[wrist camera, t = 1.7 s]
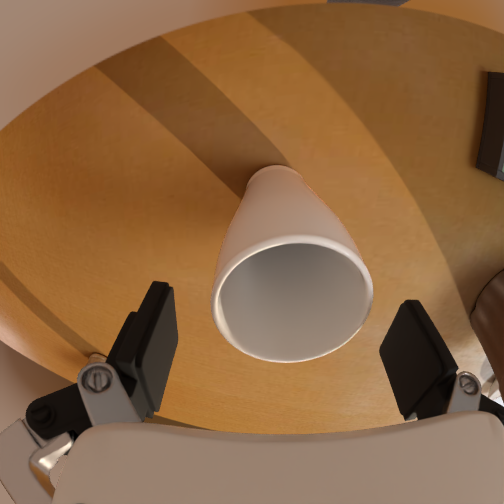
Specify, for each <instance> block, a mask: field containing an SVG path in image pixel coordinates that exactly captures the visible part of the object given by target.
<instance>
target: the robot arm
mask: <svg viewBox="0 0 504 504" xmlns="http://www.w3.org/2000/svg"><path fill="white" fill-rule="evenodd" d="M177 344H178V330H177V321H176V312H175V301H174V290H173V287H169V284H168V283H167V282H159V281H153V282H152V284H151V286H150V288H149V290H148V292H147V294H146V296H145V298H144V300H143V302H142V304H141V306H140V308H139V309H138V311H137V312H133V311H132V312H130V314H129V315H128V317H127V319H126V321H125V323H124V325H123V327H122V329H121V331H120V333H119V335H118V337H117V339H116V341H115V343H114V345H113V347H112V349H111V351H110V353H109V355H108V357H107V359H106V361H105V363H104V362H93V363H90V364H88V365H86V366H85V367H83V368H82V369H81V371H80V372H79V374H78V377H77V383H75V384H73V385H71V386H68V387H66V388H63V389H61V390H59V391H56V392H54V393H51V394H48V395H46V396H44V397H41V398H38V399H36V400H34V401H33V402H32V403H31V404H30V405H29V406H28V408H27V410H26V418H24V419H23V420H21V419H20V418H19V419H18V420H17V421H15V422H14V423H13V424H11V425H10V426H9V427H8V428H6V429H5V430H4V431H3V432H1V433H0V481H1V483H2V485H3V486H4V488H5V489H6V491H7V492H8V494H9V495H10V497H11V498H12V500H13V501H14V502H15V504H504V407H503V406H501V405H500V404H498V403H496V402H495V401H493V400H491V399H489V398H488V397H486V396H484V395H483V394H481V384H480V382H479V380H478V378H477V377H476V376H475V375H473V374H472V373H470V372H465V371H463V372H460V373H459V374H458V375H457V374H456V371H457V370H458V366H457V364H456V362H455V360H454V358H453V357H452V355H451V353H450V351H449V349H448V348H447V346H446V344H445V342H444V341H443V339H442V337H441V335H440V334H439V332H438V330H437V329H436V327H435V325H434V324H433V322H432V320H431V319H430V317H429V315H428V314H427V312H426V311H425V309H424V308H423V306H422V304H421V303H420V302H419V300H406V301H404V303H402V304H401V305H400V307H399V310H398V312H397V314H396V316H395V318H394V320H393V322H392V324H391V326H390V328H389V330H388V332H387V334H386V336H385V338H384V340H383V342H382V344H381V346H380V350H379V353H380V356H381V359H382V362H383V364H384V367H385V370H386V373H387V375H388V378H389V381H390V384H391V387H392V390H393V393H394V396H395V399H396V402H397V405H398V408H399V411H400V413H401V415H403V416H404V419H405V421H408V420H412V419H415V418H416V417H417V418H418V420H417V421H413V422H408V423H403V424H397V425H391V426H385V427H379V428H372V429H364V430H356V431H346V432H335V433H320V434H248V433H233V432H221V431H210V430H201V429H192V428H185V427H178V426H170V425H162V424H155V423H143V422H144V420H145V417H148V418H153V414H154V411H155V412H158V411H159V409H160V405H161V402H162V398H163V394H164V390H165V387H166V383H167V379H168V376H169V372H170V368H171V365H172V361H173V358H174V354H175V351H176V347H177ZM62 455H67V458H66V460H65V462H64V465H63V467H62V470H61V473H60V476H59V479H58V482H57V486H56V489H55V488H54V487H53V485H52V484H51V482H50V477H49V474H50V470H51V468H52V467H53V466H54V465H55V464H57V463H58V461H57V459H58V458H60V457H61V456H62Z"/></svg>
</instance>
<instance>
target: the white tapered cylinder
mask: <svg viewBox="0 0 504 504" xmlns="http://www.w3.org/2000/svg"><path fill="white" fill-rule="evenodd" d="M372 302H373V284H372V280H371V276H370V274H369V271H368V269H367V267H366V265H365V263H364V260H363V258H362V256H361V254H360V252H359V250H358V248H357V246H356V244H355V242H354V241H353V239H352V237H351V235H350V234H349V232H348V231H347V229H346V227H345V226H344V225H343V223H342V222H341V221H340V219H339V218H338V217H337V215H336V214H335V213H334V212H333V211H332V210H331V209H330V207H329V206H328V205H327V204H326V203H325V202H324V201H323V200H322V199H321V198H320V197H319V196H318V195H317V194H316V193H315V192H314V191H313V190H312V189H311V188H310V187H309V185H308V184H307V183H306V182H305V180H304V179H303V177H302V176H301V175H300V174H299V173H298V172H296V171H295V170H293V169H292V168H289V167H287V166H282V165H271V166H267V167H264V168H262V169H260V170H259V171H257V172H256V173H255V174H254V175H253V176H252V177H251V178H250V180H249V182H248V184H247V186H246V189H245V193H244V196H243V198H242V200H241V202H240V204H239V206H238V208H237V210H236V212H235V214H234V216H233V218H232V220H231V223H230V225H229V227H228V229H227V231H226V234H225V236H224V239H223V242H222V245H221V248H220V252H219V256H218V260H217V264H216V269H215V274H214V280H213V287H212V293H211V312H212V317H213V320H214V322H215V324H216V327H217V328H218V330H219V332H220V333H221V334H222V336H223V337H224V338H225V339H226V340H227V341H228V342H229V343H230V344H231V345H233V346H234V347H235V348H237V349H238V350H240V351H242V352H243V353H245V354H248V355H250V356H252V357H255V358H258V359H262V360H266V361H272V362H282V363H290V362H301V361H307V360H311V359H315V358H318V357H321V356H324V355H326V354H328V353H330V352H332V351H334V350H336V349H338V348H339V347H341V346H342V345H344V344H345V343H347V342H348V341H349V340H350V339H351V338H352V337H353V336H354V335H355V334H356V333H357V332H358V331H359V330H360V328H361V327H362V326H363V324H364V323H365V321H366V319H367V317H368V315H369V313H370V310H371V306H372Z"/></svg>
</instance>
